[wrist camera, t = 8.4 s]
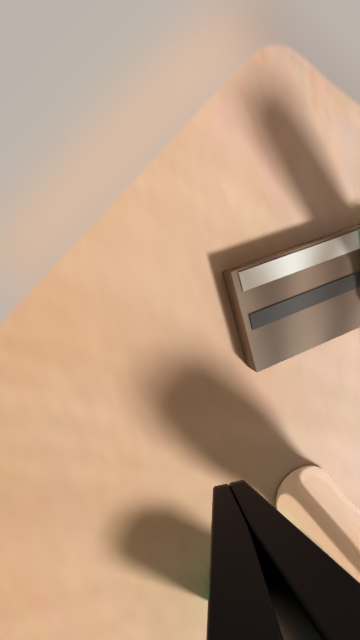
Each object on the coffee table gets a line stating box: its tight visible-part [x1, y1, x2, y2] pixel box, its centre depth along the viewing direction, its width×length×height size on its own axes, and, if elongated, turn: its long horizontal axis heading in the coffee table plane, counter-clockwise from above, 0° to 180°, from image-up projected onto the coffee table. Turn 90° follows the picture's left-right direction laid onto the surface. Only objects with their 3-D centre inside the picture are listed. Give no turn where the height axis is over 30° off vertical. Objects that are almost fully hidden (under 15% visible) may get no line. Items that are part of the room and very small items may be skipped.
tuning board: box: [222, 224, 360, 372], centre depth 21 cm, size 16×8×2 cm, turn 107°
